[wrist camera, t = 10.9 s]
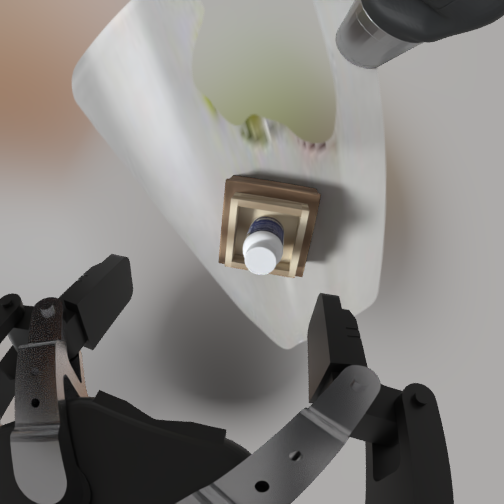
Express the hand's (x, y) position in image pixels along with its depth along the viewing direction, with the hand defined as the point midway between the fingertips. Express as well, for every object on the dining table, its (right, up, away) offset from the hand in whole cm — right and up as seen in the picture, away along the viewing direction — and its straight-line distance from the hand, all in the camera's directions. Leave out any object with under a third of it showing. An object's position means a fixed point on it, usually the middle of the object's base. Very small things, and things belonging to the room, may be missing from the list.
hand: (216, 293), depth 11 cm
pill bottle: (+4, +5, +31) cm, 32 cm away
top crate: (+4, +5, +32) cm, 33 cm away
